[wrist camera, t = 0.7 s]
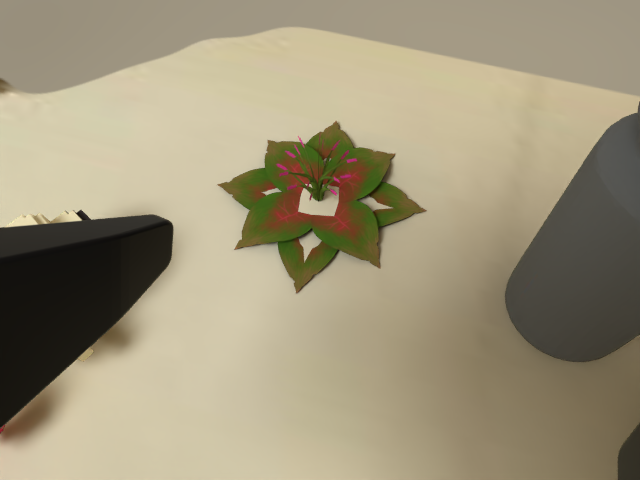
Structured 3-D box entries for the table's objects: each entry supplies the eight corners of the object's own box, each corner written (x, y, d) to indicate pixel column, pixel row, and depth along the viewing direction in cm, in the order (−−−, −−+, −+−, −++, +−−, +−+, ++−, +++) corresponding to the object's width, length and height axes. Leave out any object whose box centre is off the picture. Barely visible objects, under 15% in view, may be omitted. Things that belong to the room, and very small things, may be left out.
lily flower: (341, 106, 33) (340, 49, 29) (461, 221, 27) (480, 170, 23) (188, 187, 30) (163, 136, 26) (289, 335, 24) (277, 298, 20)
